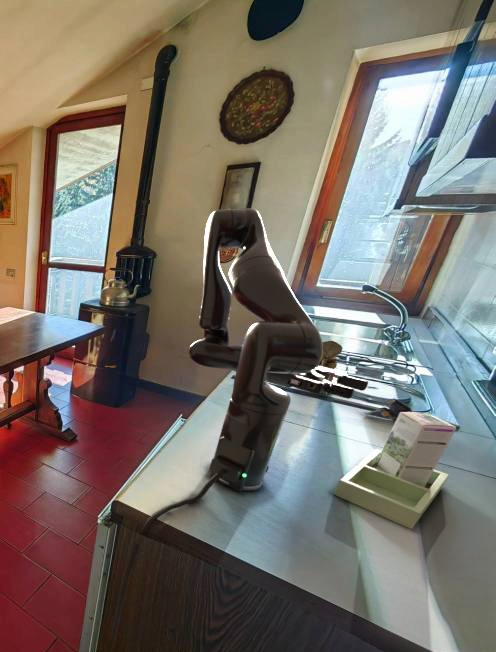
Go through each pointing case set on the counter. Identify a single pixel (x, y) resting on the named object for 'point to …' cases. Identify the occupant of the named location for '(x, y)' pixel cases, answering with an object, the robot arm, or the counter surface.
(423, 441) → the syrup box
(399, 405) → the snack package
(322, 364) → the tan boot
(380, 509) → the holder
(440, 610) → the counter surface
